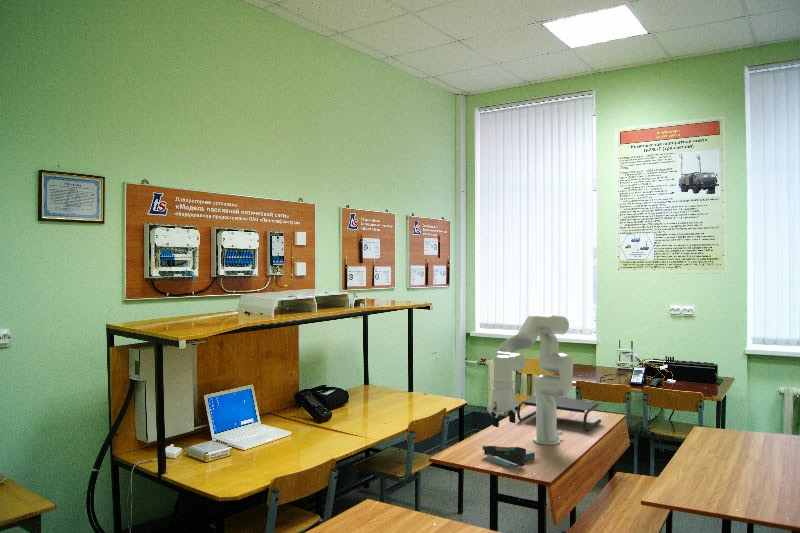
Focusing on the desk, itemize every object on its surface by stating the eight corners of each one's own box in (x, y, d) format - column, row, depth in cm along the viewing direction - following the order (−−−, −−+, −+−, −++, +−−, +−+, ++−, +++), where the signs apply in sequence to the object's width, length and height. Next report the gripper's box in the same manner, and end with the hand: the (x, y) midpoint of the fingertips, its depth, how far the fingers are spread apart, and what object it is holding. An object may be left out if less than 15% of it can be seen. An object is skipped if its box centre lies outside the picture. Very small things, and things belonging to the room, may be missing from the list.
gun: (521, 465, 234) (519, 440, 238) (482, 469, 246) (481, 445, 251) (527, 466, 236) (525, 441, 241) (489, 470, 249) (487, 447, 253)
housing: (517, 454, 254) (517, 446, 254) (534, 460, 245) (534, 452, 246) (508, 456, 251) (508, 448, 251) (525, 462, 242) (525, 454, 242)
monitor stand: (601, 421, 310) (601, 402, 310) (586, 434, 287) (585, 412, 287) (535, 412, 331) (535, 394, 331) (516, 423, 307) (516, 403, 308)
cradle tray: (499, 456, 251) (499, 452, 251) (520, 464, 240) (520, 460, 240) (486, 459, 247) (486, 455, 247) (508, 468, 236) (508, 463, 236)
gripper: (511, 380, 252) (512, 419, 252) (482, 385, 242) (483, 426, 242) (524, 383, 246) (524, 422, 246) (494, 388, 236) (495, 430, 236)
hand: (504, 424), depth 244 cm, fingers open, 9 cm apart
